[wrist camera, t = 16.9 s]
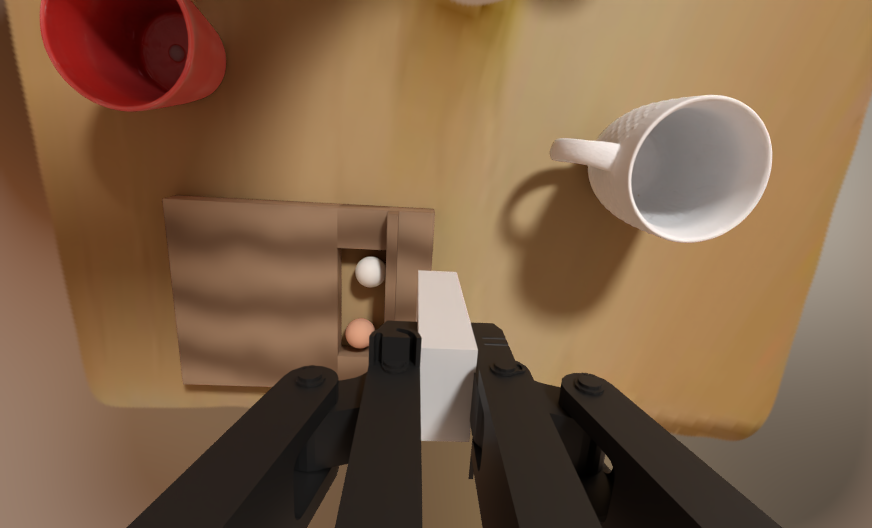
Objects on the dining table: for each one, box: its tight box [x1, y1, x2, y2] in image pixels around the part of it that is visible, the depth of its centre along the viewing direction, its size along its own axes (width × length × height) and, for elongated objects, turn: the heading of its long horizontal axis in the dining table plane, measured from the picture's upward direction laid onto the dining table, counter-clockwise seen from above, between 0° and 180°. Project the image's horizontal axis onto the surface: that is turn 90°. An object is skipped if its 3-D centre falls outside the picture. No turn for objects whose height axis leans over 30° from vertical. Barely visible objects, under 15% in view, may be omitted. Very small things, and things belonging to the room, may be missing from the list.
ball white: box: [355, 257, 386, 287], centre depth 46 cm, size 3×3×3 cm
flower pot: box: [40, 0, 226, 112], centre depth 37 cm, size 11×11×10 cm
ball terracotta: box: [345, 318, 375, 348], centre depth 48 cm, size 3×3×3 cm
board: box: [162, 195, 435, 387], centre depth 46 cm, size 20×26×4 cm
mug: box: [550, 95, 772, 243], centre depth 39 cm, size 15×11×13 cm
